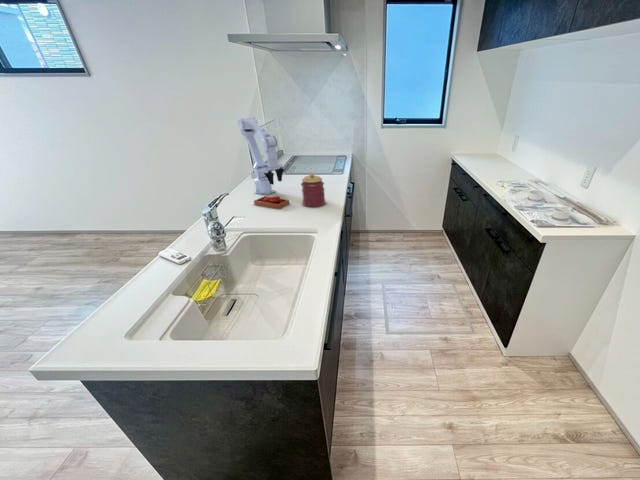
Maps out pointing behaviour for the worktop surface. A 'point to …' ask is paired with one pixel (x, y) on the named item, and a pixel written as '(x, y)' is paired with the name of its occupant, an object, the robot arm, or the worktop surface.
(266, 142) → the robot arm
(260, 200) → the tray
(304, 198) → the kitchen canister
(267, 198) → the vegetable
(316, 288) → the worktop surface
